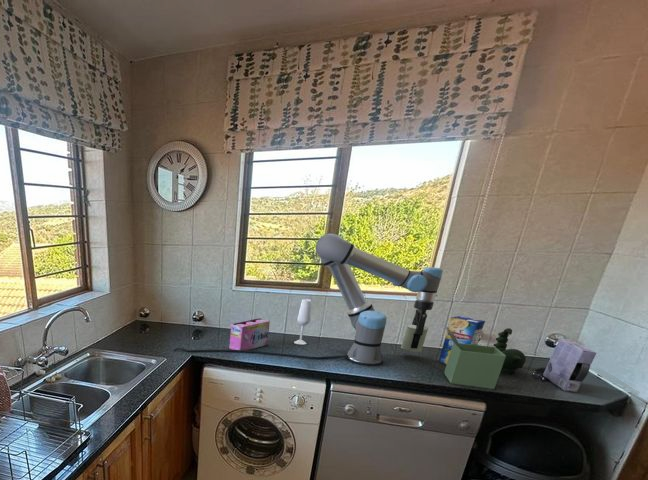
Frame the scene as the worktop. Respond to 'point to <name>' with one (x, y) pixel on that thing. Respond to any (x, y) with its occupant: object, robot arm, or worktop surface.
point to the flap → (453, 338)
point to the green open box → (474, 365)
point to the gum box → (249, 334)
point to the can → (409, 337)
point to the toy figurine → (509, 353)
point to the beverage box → (461, 334)
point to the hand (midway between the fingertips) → (412, 345)
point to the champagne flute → (304, 317)
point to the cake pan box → (569, 365)
